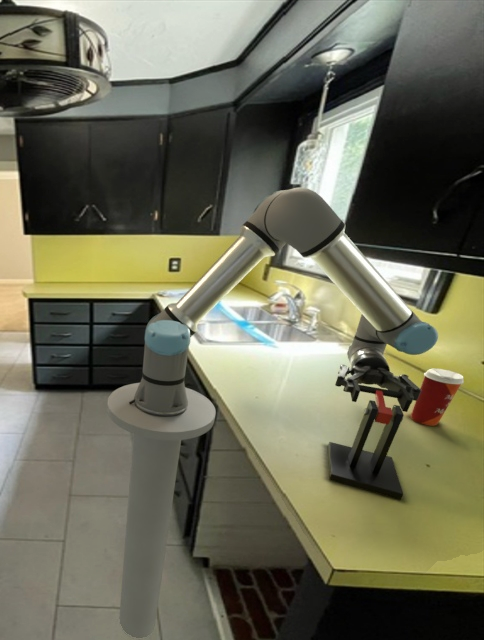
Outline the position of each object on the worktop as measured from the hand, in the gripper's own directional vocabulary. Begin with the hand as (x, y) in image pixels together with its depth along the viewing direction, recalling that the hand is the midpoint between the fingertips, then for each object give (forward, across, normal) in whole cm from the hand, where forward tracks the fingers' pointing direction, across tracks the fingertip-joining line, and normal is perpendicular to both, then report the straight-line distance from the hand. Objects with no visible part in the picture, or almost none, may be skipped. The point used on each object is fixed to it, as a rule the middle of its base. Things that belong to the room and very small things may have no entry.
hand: (381, 400), depth 77 cm
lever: (0, 0, -2) cm, 2 cm away
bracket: (+5, 0, -15) cm, 16 cm away
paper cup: (-30, -17, -15) cm, 38 cm away
